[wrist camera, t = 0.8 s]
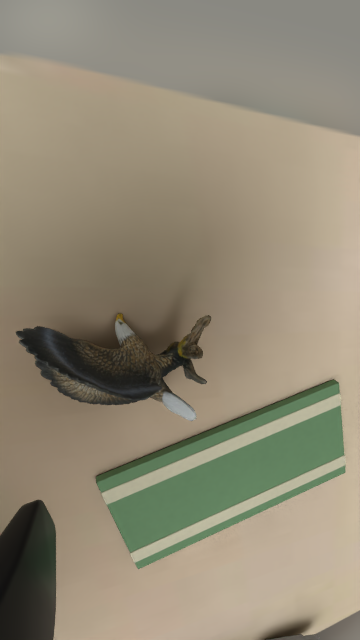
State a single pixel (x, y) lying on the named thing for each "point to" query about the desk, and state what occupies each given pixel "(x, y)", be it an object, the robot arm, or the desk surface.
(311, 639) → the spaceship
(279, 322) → the desk surface
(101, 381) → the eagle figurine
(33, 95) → the desk surface
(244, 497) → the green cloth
